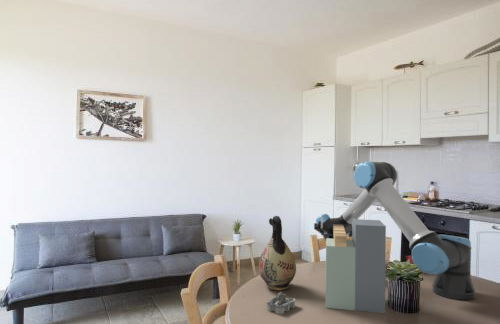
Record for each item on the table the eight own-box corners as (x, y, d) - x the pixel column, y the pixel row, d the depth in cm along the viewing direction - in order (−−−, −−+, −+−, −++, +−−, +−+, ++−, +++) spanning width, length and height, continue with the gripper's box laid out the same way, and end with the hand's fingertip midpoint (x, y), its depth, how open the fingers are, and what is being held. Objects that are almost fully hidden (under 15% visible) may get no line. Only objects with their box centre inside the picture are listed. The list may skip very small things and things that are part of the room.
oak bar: (333, 233, 150) (333, 224, 150) (342, 234, 149) (343, 224, 149) (334, 246, 126) (335, 235, 126) (346, 247, 125) (346, 235, 126)
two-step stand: (325, 293, 140) (326, 218, 141) (378, 298, 136) (379, 220, 137) (325, 307, 127) (326, 223, 127) (384, 313, 123) (385, 226, 123)
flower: (422, 272, 165) (426, 257, 168) (401, 265, 170) (406, 250, 173) (421, 279, 172) (425, 264, 175) (401, 272, 177) (406, 257, 180)
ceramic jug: (256, 281, 155) (257, 212, 155) (291, 280, 156) (291, 212, 157) (261, 295, 138) (262, 218, 138) (300, 294, 140) (301, 218, 140)
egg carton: (281, 301, 132) (281, 290, 133) (298, 307, 127) (298, 296, 127) (263, 310, 125) (263, 298, 125) (280, 316, 120) (280, 304, 120)
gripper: (309, 228, 175) (308, 211, 157) (362, 230, 170) (367, 213, 152) (309, 243, 171) (308, 227, 153) (363, 246, 166) (368, 230, 148)
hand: (337, 220), depth 152 cm, fingers open, 13 cm apart
